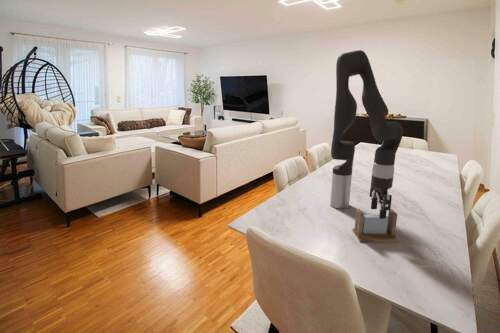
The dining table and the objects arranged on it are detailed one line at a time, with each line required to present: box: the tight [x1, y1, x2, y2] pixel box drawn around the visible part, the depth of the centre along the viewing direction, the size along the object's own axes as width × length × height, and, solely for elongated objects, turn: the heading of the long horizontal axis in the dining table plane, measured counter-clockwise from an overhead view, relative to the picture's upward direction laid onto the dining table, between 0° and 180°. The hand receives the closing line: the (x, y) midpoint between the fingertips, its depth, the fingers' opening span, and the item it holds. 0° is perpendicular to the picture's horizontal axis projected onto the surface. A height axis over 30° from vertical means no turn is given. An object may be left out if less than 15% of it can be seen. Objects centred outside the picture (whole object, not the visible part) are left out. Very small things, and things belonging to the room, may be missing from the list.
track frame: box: [351, 208, 399, 244], centre depth 116 cm, size 10×14×11 cm
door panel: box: [362, 214, 388, 234], centre depth 116 cm, size 2×9×8 cm, turn 87°
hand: (377, 213), depth 116 cm, fingers open, 8 cm apart
